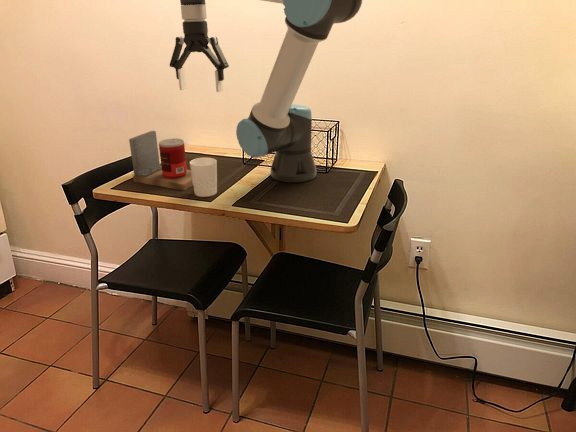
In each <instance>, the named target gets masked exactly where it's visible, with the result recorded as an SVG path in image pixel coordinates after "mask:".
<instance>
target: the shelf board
mask: <svg viewBox="0 0 576 432" xmlns="http://www.w3.org/2000/svg"><path fill="white" fill-rule="evenodd" d="M132 179H133V182H134V183H138V184H139V183H140V184H146V185H151V186H157V187H163V188H169V189H174V190H179V191H180V190H181V191H187V190H188V189H190V188H192V187H194V186H193V182H192V176H191V169H187V173H186V175H185V176H183V177H181V178H176V179H168V178H165V177H164V176H163V174H162V170H160V171H158V172H156V173H154V174H152V175H149V176H147V177H141V176H135V175H134V174H133V175H132Z"/></svg>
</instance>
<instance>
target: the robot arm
mask: <svg viewBox="0 0 576 432" xmlns="http://www.w3.org/2000/svg"><path fill="white" fill-rule="evenodd" d="M179 1H180V11H181V12H180V14H181V19H182V20H183V21H182V32H183V35H184V37H183V36H176V37H175V45H174V47H173V52H172V56H171V59H170V62H169V67H170V68H173V69H174V70H175V76H176V79H177V80H178V85H179V86H178V87H179V91H184V90H187V83H186V73H185V68H183V66H184V64H185V63H186V61H187V60H188V58H189V57H190V55H191V53H196V52H197V53H203V54H204V55H205V56H206V57H207V58H208V60H209V62H211V64H212V65H213V66H214V67H215V69H216V70H214V76H215V77H214V78H215V80H214V81H215V89H216V93H219V92H222V91H223V81H224V80H225V75H224V70H225V69H228V68H229V67H230V66H229V62H228V61H227V59H226V57H225V55H224V53H223V50H222V48H221V47H220V44H219V41H218V37H217V36H213V37H212V36H211V37H209V36H208V34H209V30H208V21H207V20H206V19H207V7H206V5H207V4H206V0H179ZM261 1H263V2H270V3H275V4H281V5H283V6H284V8H283V13H284V15H285V18H284V22H285V23H284V24H285V25H286V27H287V31H286V33H285V36H284V38H283V40H282V42H281V43H282V44H281V45H280V49H279V51H278V54H277V57H276V59H275V62H274V64H273V67H272V70H271V73H270V75H269V78H268V80H267V83H266V86H265V88H264V90H263V93H262V96H261V99H260V101H259V102H257V103H254V104H253V106H252V108H251V110H250V113H249V116H248V117H247V118H242V120H240V121H239V122H238V123H237V126H236V130H235V132H236V139H237V141H238V144H239V146H240V148H241V150H242V151H243V152H244V153H245V154H246V155H247V156H249V157H250V158H259V157H265V156H267V155H270V154H273V153H274V155H273V156H274V157H273V159H272V163H271V166H270V177H271V178H272V179H274V180H275V181H279V182H283V183H304V182H308V181H311V180H314V179H315V178H316V177H317V166H316V164H315V161H314V157H313V153H312V128H313V127H312V126H313V125H312V124H313V122H312V121H313V119H312V110H311V108H310V107H309V106H306V105H302V104H294V101H295V98H296V96H297V93H298V91H299V89H300V86H301V84H302V82H303V80H304V77H305V75H306V72H307V70H308V68H309V65H310V63H311V61H312V59H313V56H314V55H315V51H316V50H317V47H318V44H319V43H320V42H323V41H325V40H327V39H328V37H329V34H330V32H331V31H332V27H333V25H335V24H342V23H346V22H347V21H350V20H352V19H353V18H354V17H355V16H356V15H357V14H358V12H359V11H360V9H361V7H362V4H363V0H261ZM184 44H185V47H184V48H183V46H184ZM209 45H211V46H209ZM210 47H211V48H212V49H211V48H210ZM182 49H183V52H182ZM212 50H213V51H212Z"/></svg>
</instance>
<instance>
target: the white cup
mask: <svg viewBox="0 0 576 432" xmlns="http://www.w3.org/2000/svg"><path fill="white" fill-rule="evenodd" d="M217 162H218V161H217V159H215V158H213V157H197V158H194V159H192V160H190V161H189V167H190V169H189V170H191V176H192V182H193V186H192V187H193V190H194V191H193V192H194V195H195V196H197V197H201V198H204V197H205V198H206V197H213V196H215V195H216V194H217V193H218V169H217V168H218V165H217V164H218V163H217Z"/></svg>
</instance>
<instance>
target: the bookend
mask: <svg viewBox="0 0 576 432" xmlns="http://www.w3.org/2000/svg"><path fill="white" fill-rule="evenodd" d="M128 141H129V147H130V155H131V162H132V167H133V175H135V176H141V177H147V176H149V175H152V174H154V173H156V172H158V171H160V170H162V166H161V161H160V153H159V145H158V139H157V132H156V131H155V130H150V131H147V132H144V133H141V134H140V135H136V136H134V137H131V138H129V139H128Z"/></svg>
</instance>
